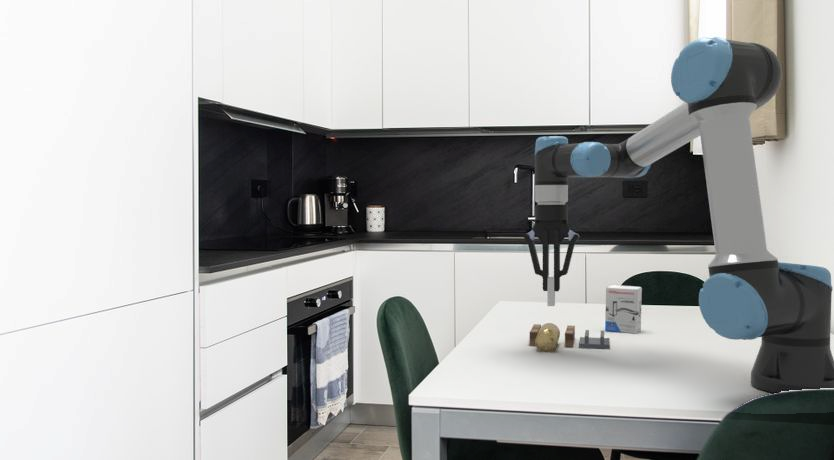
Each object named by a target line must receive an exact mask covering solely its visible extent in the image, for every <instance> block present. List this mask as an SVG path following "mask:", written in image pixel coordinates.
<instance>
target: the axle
mask: <svg viewBox="0 0 834 460" xmlns="http://www.w3.org/2000/svg"><path fill="white" fill-rule="evenodd" d="M560 335H561V332H560V329H559V327H558V326H557V325H556V324H554V323H550V322H547V323H544V324H542V325H541V328H540V330H539V332H538V334H537V336H536V339H535V344H536V346H535V347H536V348H537V350H538V351H540V352H541V353H552V352H553V351H555V349H556V347H557V345H558V342H559V340H560Z"/></svg>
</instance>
